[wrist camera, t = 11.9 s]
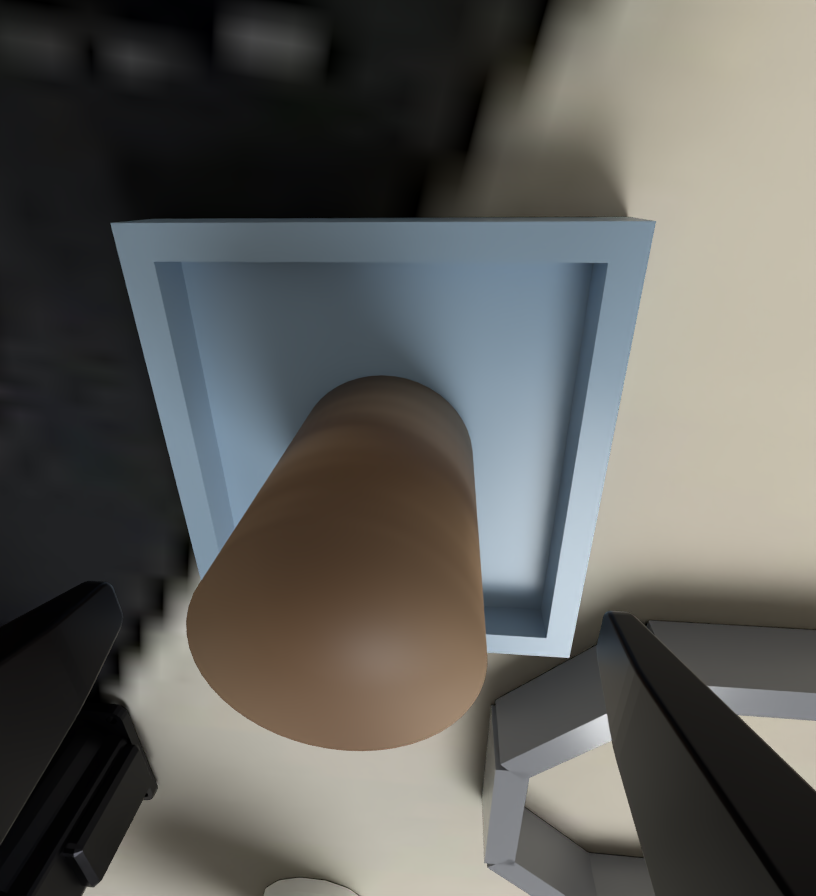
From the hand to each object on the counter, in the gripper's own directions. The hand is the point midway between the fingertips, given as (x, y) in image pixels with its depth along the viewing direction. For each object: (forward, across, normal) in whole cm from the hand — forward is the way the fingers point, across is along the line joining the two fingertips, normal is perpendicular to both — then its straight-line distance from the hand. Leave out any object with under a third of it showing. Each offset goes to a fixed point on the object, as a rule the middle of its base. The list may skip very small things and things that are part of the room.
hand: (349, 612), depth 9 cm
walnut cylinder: (+6, 0, 0) cm, 6 cm away
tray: (+7, 0, 0) cm, 7 cm away
